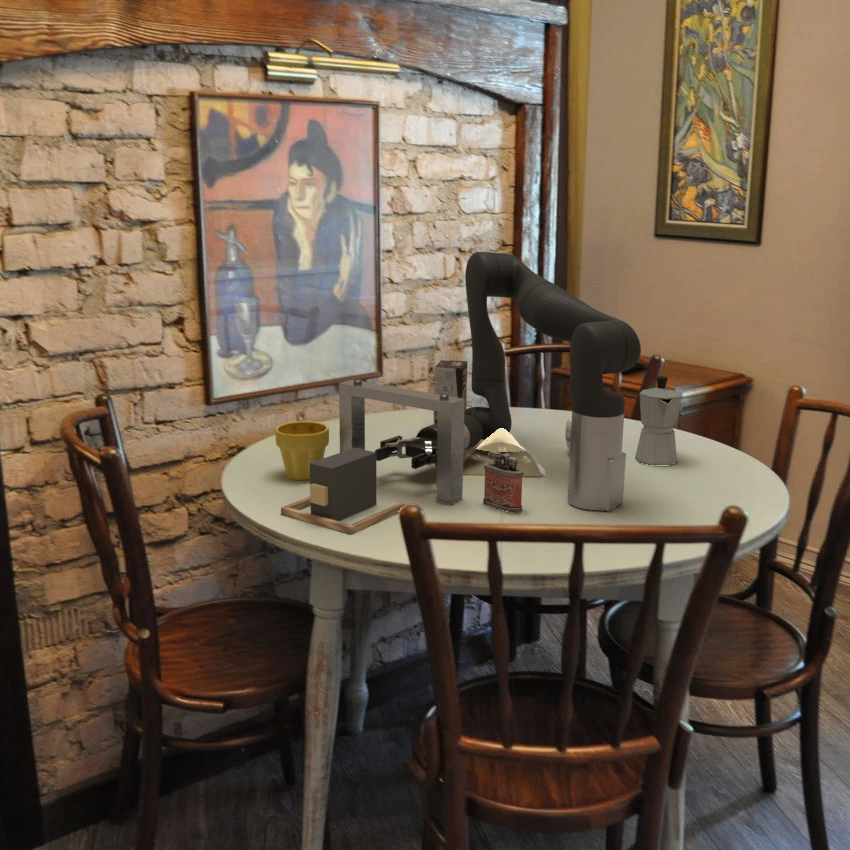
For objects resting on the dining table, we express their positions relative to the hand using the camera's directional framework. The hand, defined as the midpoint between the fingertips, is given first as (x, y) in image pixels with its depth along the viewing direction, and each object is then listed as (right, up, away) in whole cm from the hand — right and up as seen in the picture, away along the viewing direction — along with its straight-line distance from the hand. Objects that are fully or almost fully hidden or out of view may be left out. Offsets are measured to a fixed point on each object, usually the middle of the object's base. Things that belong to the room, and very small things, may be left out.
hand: (394, 459), depth 183 cm
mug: (+40, -1, +25) cm, 47 cm away
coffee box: (+11, +5, +42) cm, 44 cm away
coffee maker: (+54, -1, +23) cm, 59 cm away
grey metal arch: (+1, -6, +3) cm, 6 cm away
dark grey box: (-9, -9, -9) cm, 16 cm away
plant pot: (-18, -4, +11) cm, 21 cm away
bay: (-8, -9, -9) cm, 15 cm away
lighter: (+20, -9, -6) cm, 22 cm away
